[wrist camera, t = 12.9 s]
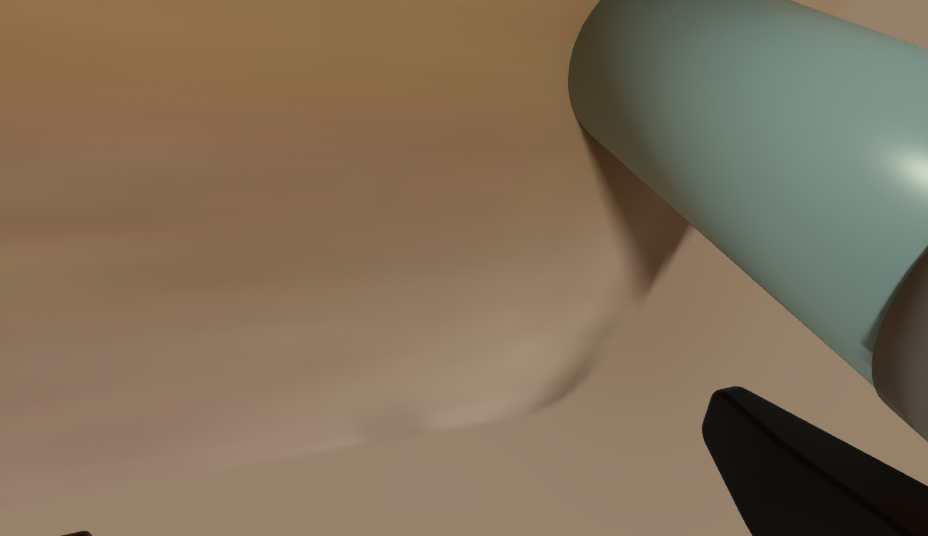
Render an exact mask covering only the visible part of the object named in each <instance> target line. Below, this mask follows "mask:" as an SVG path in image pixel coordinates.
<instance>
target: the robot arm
mask: <svg viewBox="0 0 928 536" xmlns="http://www.w3.org/2000/svg"><path fill="white" fill-rule="evenodd" d="M702 434H703V438H704V441H705V444H706V446H707V448H708V449H709V451H710V454H711V456H712V457H713V460H714V462H715V464H716V466H717V468H718V470H719V472H720V474H721V476H722V478H723V480H724V482H725V484H726V486H727V488H728V490H729V492H730V494H731V496H732V498H733V500H734V502H735V504H736V506H737V508H738V510H739V512H740V514H741V516H742V518H743V520H744V522H745V524H746V525H747V527H748V529H749V531H750V532H751V534H752V536H928V486H926V485H925V484H923V483H921V482H919V481H917V480H915V479H913V478H911V477H910V476H907V475H906V474H904V473H902V472H900V471H898V470H896V469H895V468H893V467H891V466H889V465H887V464H885V463H883V462H881V461H879V460H878V459H876V458H874V457H872V456H870V455H868V454H867V453H864V452H863V451H861V450H859V449H857V448H855V447H853V446H852V445H849V444H848V443H846V442H844V441H842V440H840V439H838V438H836V437H835V436H832V435H831V434H829V433H827V432H825V431H823V430H822V429H819V428H818V427H816V426H814V425H812V424H810V423H808V422H807V421H805V420H803V419H801V418H799V417H797V416H795V415H793V414H792V413H789V412H788V411H786V410H784V409H782V408H780V407H778V406H777V405H775V404H773V403H771V402H769V401H767V400H765V399H763V398H762V397H760V396H758V395H756V394H754V393H752V392H750V391H748V390H746V389H744V388H742V387H738V386H737V387H736V386H734V387H729V388H725V389H720V390H717V391H715V392H714V393H713V394H712V397H711V399H710V402H709V406H708V409H707V412H706V415H705V418H704V421H703V425H702ZM62 536H92V535H91V534H90V533H89V532H88V531H80V532H76V533H71V534H67V535H62Z"/></svg>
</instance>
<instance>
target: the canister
mask: <svg viewBox="0 0 928 536" xmlns="http://www.w3.org/2000/svg"><path fill="white" fill-rule="evenodd" d="M568 88H569V95H570V101H571V104H572V107H573V111H574V113H575V115H576V117H577V119H578V121H579V122H580V124H581V125H582V127H583V128H584V129H585V130H586V131H587V132H588V133H589V134H590V135H591V136H592V137H593V138H594V139H595V140H597V141H598V142H599V143H600V144H601V145H602V146H603V147H604V148H606V149H607V150H608V151H609V152H610V153H611V154H612V155H613V156H615V157H616V158H617V159H618V160H619V161H620V162H621V163H622V164H624V165H625V166H626V167H627V168H628V169H629V170H630V171H631V172H633V173H634V174H635V175H636V176H637V177H638V178H639V179H640V180H642V181H643V182H644V183H645V184H646V185H647V186H648V187H649V188H651V189H652V190H653V191H654V192H655V193H656V194H657V195H658V196H660V197H661V198H662V199H663V200H664V201H665V202H666V203H668V204H669V205H670V206H671V207H672V208H673V209H674V210H675V211H677V212H678V213H679V214H680V215H681V216H682V217H683V218H684V219H686V220H687V221H688V222H689V223H690V224H691V225H692V226H693V227H695V228H696V229H697V230H698V231H699V232H700V233H701V234H702V235H704V236H705V237H706V238H707V239H708V240H709V241H710V242H712V243H713V244H714V245H715V246H716V247H717V248H718V249H719V250H721V251H722V252H723V253H724V254H725V255H726V256H727V257H728V258H730V259H731V260H732V261H733V262H734V263H735V264H736V265H737V266H739V267H740V268H741V269H742V270H743V271H744V272H745V273H746V274H748V275H749V276H750V277H751V278H752V279H753V280H754V281H756V282H757V283H758V284H759V285H760V286H761V287H762V288H763V289H764V290H766V291H767V292H768V293H769V294H770V295H771V296H772V297H773V298H775V299H776V300H777V301H778V302H779V303H780V304H782V305H783V306H784V307H785V308H786V309H787V310H788V311H789V312H790V313H792V314H793V315H794V316H795V317H796V318H797V319H798V320H799V321H801V322H802V323H803V324H804V325H805V326H806V327H807V328H809V329H810V330H811V331H812V332H813V333H814V334H815V335H816V336H817V337H819V338H820V339H821V340H822V341H823V342H824V343H825V344H827V345H828V346H829V347H830V348H831V349H832V350H833V351H835V353H837V354H838V355H839V356H840V357H841V358H842V359H843V360H845V361H846V362H847V363H848V364H849V365H850V366H851V367H852V368H854V369H855V370H856V371H857V372H858V373H859V374H860V375H861V376H863V377H864V378H865V379H866V380H867V381H868V382H869V383H870V384H872V385H873V386H874V387H875V389H876V392H877V394H878V396H879V397H880V398H881V400H882V401H883V402H884V403H885V404H886V405H887V406H888V407H889V408H890V409H891V410H893V411H894V412H895V413H896V414H897V415H898V416H899V417H900V418H901V419H903V420H904V421H905V422H906V423H907V424H908V425H909V426H910V427H912V428H913V429H914V430H915V431H916V432H917V433H918V434H919V435H920V436H922V437H923V438H924V439H925V440H926V441H927V442H928V50H927V49H924V48H922V47H919V46H916V45H914V44H911V43H908V42H905V41H902V40H899V39H896V38H894V37H891V36H888V35H886V34H883V33H880V32H877V31H875V30H872V29H869V28H866V27H863V26H861V25H858V24H855V23H852V22H849V21H847V20H844V19H841V18H838V17H836V16H833V15H830V14H827V13H824V12H822V11H819V10H816V9H813V8H811V7H808V6H805V5H802V4H799V3H797V2H794V1H791V0H601V1H600V2H599V3H598V4H597V5H596V7H595V8H594V9H593V11H592V12H591V13H590V15H589V16H588V18H587V20H586V21H585V23H584V25H583V26H582V29H581V31H580V33H579V35H578V37H577V40H576V42H575V45H574V48H573V51H572V56H571V60H570V65H569V75H568Z"/></svg>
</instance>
